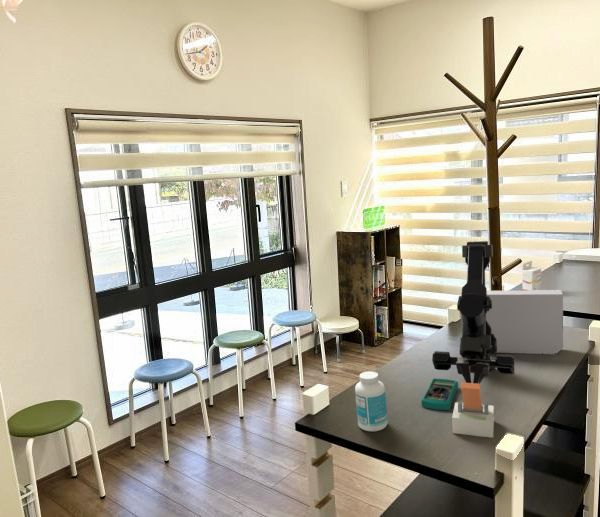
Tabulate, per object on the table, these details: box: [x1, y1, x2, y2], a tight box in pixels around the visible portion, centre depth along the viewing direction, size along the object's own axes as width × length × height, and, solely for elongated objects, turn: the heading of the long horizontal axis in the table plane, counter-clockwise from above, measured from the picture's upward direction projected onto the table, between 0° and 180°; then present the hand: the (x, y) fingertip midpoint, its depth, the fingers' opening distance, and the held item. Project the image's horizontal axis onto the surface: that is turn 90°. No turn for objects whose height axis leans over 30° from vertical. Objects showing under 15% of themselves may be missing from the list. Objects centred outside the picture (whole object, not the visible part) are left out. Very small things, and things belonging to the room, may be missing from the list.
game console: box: [486, 289, 564, 355], centre depth 165 cm, size 6×27×20 cm, turn 71°
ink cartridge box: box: [521, 260, 542, 291], centre depth 228 cm, size 9×5×15 cm, turn 130°
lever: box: [460, 382, 483, 412], centre depth 118 cm, size 2×4×11 cm
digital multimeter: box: [421, 377, 459, 411], centre depth 138 cm, size 7×15×3 cm, turn 153°
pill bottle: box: [354, 370, 389, 432], centre depth 126 cm, size 8×7×14 cm
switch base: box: [451, 400, 495, 439], centre depth 121 cm, size 8×9×6 cm
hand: (472, 396), depth 118 cm, fingers closed, pressing on lever
